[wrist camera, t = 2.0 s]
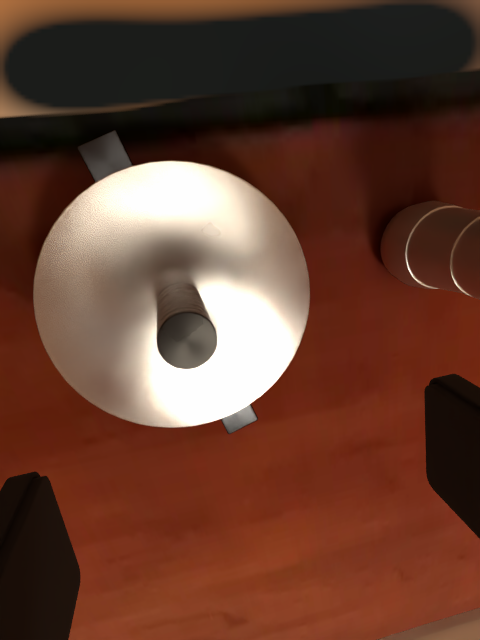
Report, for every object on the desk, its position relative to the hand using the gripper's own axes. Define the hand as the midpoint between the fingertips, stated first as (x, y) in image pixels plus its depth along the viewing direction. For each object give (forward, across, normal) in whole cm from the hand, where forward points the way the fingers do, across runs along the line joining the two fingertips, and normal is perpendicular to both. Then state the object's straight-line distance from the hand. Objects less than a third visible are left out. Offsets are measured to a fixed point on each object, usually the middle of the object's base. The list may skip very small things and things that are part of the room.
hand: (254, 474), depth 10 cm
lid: (+17, +1, 0) cm, 17 cm away
